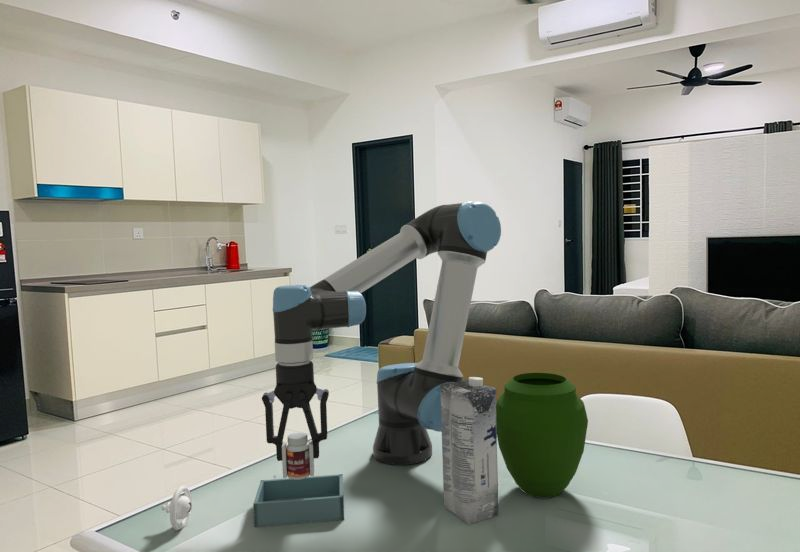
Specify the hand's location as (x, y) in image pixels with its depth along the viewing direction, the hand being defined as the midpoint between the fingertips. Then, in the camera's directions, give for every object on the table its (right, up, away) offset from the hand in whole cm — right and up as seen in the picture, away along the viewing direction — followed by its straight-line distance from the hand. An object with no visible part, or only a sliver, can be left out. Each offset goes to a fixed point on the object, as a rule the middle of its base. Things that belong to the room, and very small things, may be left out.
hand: (299, 474), depth 120 cm
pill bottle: (0, -1, 0) cm, 1 cm away
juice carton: (+35, -7, -3) cm, 36 cm away
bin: (0, -8, +1) cm, 8 cm away
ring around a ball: (-23, -9, -5) cm, 25 cm away
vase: (+51, -6, +6) cm, 52 cm away
